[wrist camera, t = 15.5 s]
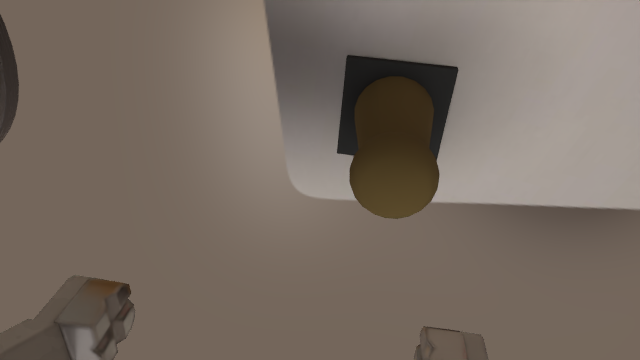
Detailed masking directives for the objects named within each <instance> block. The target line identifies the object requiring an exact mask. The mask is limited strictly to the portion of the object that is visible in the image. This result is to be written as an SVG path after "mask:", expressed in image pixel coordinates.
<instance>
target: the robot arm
mask: <svg viewBox="0 0 640 360" xmlns="http://www.w3.org/2000/svg"><path fill="white" fill-rule="evenodd" d="M130 294H131V290H130V286H129V284H125V283H120V282H115V281H109V280H103V279H97V278H91V277H84V276H78V275H74V276H72V277H70V278H69V279H68V280H67V281H66V282H65V283H64V284H63V285H62V287H61V288H60V289H59V290H58V291H57V292H56V294H55V295H54V296H53V297H52V298H51V300H50V301H49V302H48V303H47V304H46V306H45V307H44V308H43V309H42V310H41V311H40V312H39V314H38V315H37V316H36V317H35V318H34V319H33V320H32V319H27V320H25V321H23V322H21V323H20V324H17V325H15V326H13V327H11V328H10V329H8V330H6V331H4V332H2V333H0V360H113V359H114V358H115V356H116V354H117V353H118V350H117V345H116V344H118V343H119V342H121V341H122V340H124V339H126V337H127V336H128V334H129V332H130V330H131V328H132V325H133V322H134V317H135V309H134V304H133V303H132V302H131V301H130V300H129V299H128V297H129V296H130ZM414 360H488V356H487V352H486V348H485V343H484V339H483V337H482V336H481V334H474V333H467V332H460V331H454V330H447V329H440V328H432V327H425V326H424V327H423V328H422V330H421V334H420V345H418V346H417V347H416V351H415V355H414Z"/></svg>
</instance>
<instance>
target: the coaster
mask: <svg viewBox="0 0 640 360" xmlns="http://www.w3.org/2000/svg"><path fill="white" fill-rule="evenodd" d="M457 73H458V68H457V67H451V66H442V65H432V64H423V63H414V62H405V61H396V60H387V59H378V58H369V57H360V56H351V55H348V56H347V61H346V71H345V81H344V90H343V100H342V110H341V120H340V129H339V139H338V149H337V153H339V154H347V155H355V153H356V152H357V151H358V150H359V148H358V141H357V133H356V126H355V119H354V118H355V105H356V102H357V100H358V97H359V95H360V94H361V93H362V92H363V90H364V89H365V88H366V87H367V86H369V85H370V84H372V83H373V82H375V81H376V80H378V79H382V78H385V77H389V76H400V77H405V78H408V79H411V80H414V81H416V82H417V83H418V84H420V85H421V86H422V87H424V88H425V89H426V91H427V92H428V94H429V95H430V97H431V99H432V103H433V107H434V115H433V124H432V131H431V138H430V145H429V149H430V150H431V152H432V153H433V154H434V156H435V158H436V161H437V156H438V152H439V148H440V144H441V140H442V136H443V131H444V127H445V123H446V119H447V115H448V110H449V106H450V102H451V98H452V94H453V90H454V85H455V81H456V77H457Z"/></svg>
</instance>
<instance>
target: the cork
mask: <svg viewBox="0 0 640 360" xmlns="http://www.w3.org/2000/svg"><path fill="white" fill-rule="evenodd" d="M433 115H434V107H433V103H432V99H431V97H430V95H429V94H428V92H427V91H426V89H425V88H424V87H422V86H421V85H420V84H418V83H417V82H416V81H414V80H411V79H408V78H405V77H400V76H389V77H385V78H382V79H378V80H376V81H375V82H373V83H372V84H370V85H369V86H367V87H366V88H365V89H364V90H363V92H362V93H361V94H360V95H359V97H358V100H357V102H356V105H355V118H354V119H355V126H356V133H357V141H358V148H359V150H358V151H357V152H356V153H355V155H354V158H353V161H352V163H351V166H350V185H351V188H352V190H353V193H354V196H355V198H356V199H357V200H358V201H359V203H360V204H361V205H362V206H363V207H364V208H366V209H367V210H369V211H370V212H372V213H373V214H375V215H378V216H381V217H384V218H395V219H398V218H403V217H408V216H411V215H413V214H414V213H417V212H419V211H420V210H422V209H423V208H424V207H425V206H426V205H427V204H428V203H430V202H431V200H432V198H433V196H434V194H435V193H436V191H437V187H438V182H439V170H438V165H437V162H436V158H435V156H434V154H433V153H432V152H431V150H430V149H429V145H430V138H431V131H432V124H433Z"/></svg>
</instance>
